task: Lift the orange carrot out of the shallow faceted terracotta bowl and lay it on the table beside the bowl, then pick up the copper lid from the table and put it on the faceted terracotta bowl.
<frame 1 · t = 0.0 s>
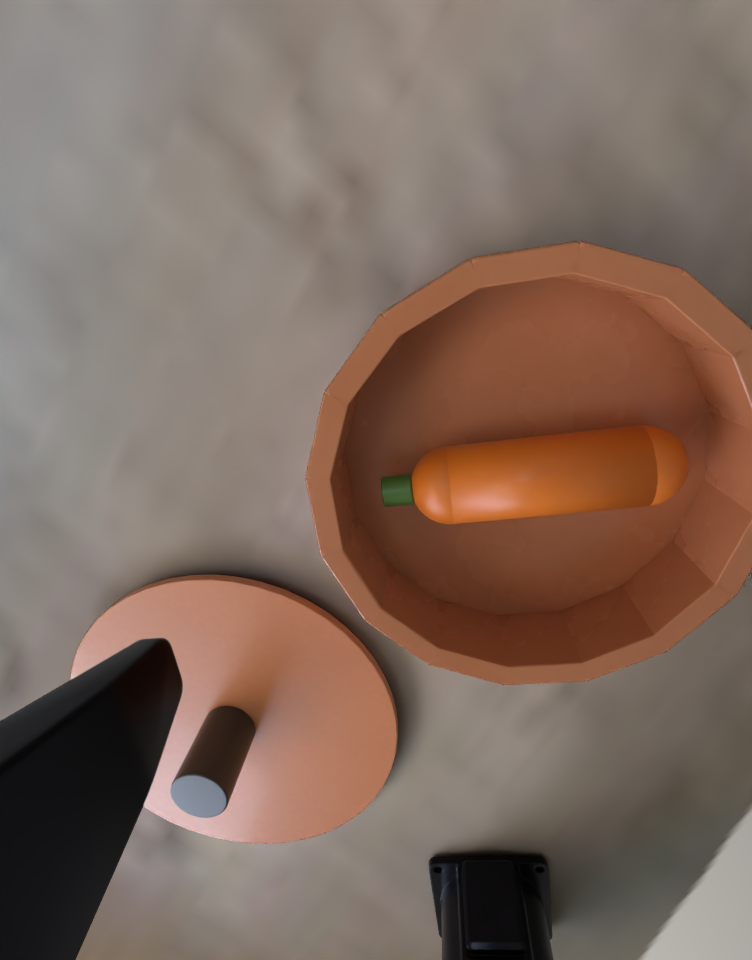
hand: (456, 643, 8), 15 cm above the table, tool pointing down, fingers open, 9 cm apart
lid: (234, 718, 27), point 1 cm above the table
faceted terracotta bowl: (519, 461, 22), on the table
carrot: (520, 464, 22), resting on faceted terracotta bowl
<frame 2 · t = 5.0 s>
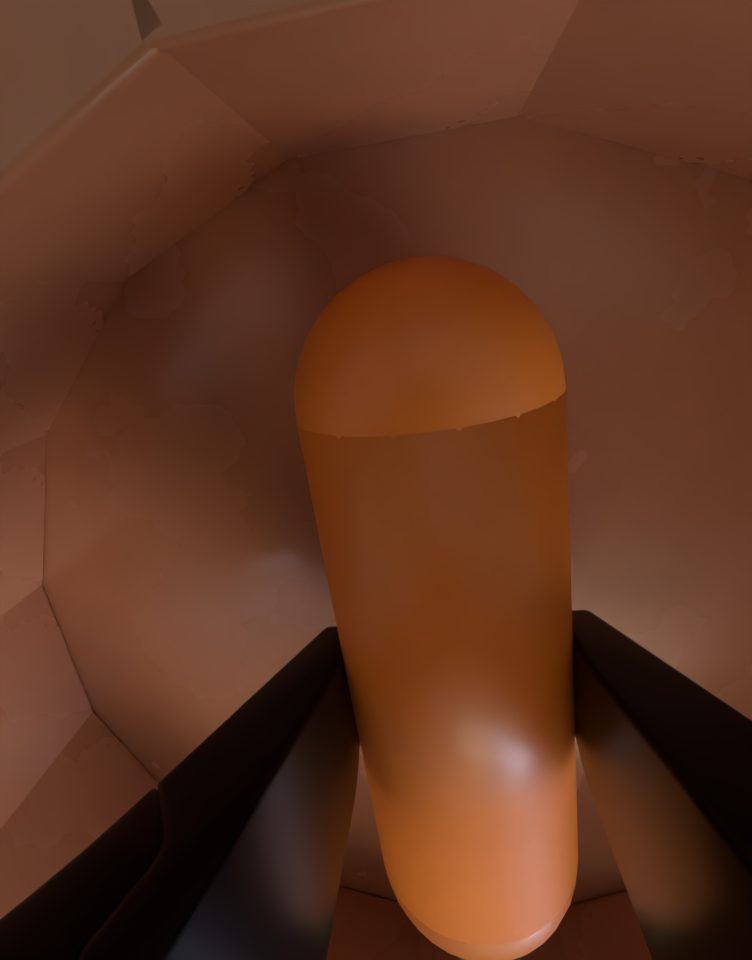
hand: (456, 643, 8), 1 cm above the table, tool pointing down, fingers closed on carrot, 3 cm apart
faceted terracotta bowl: (453, 609, 9), on the table
carrot: (454, 623, 9), resting on faceted terracotta bowl, touching gripper
when the fingers open (1 cm above the table, at t = 11.8 s): carrot stays where it is, on the table.
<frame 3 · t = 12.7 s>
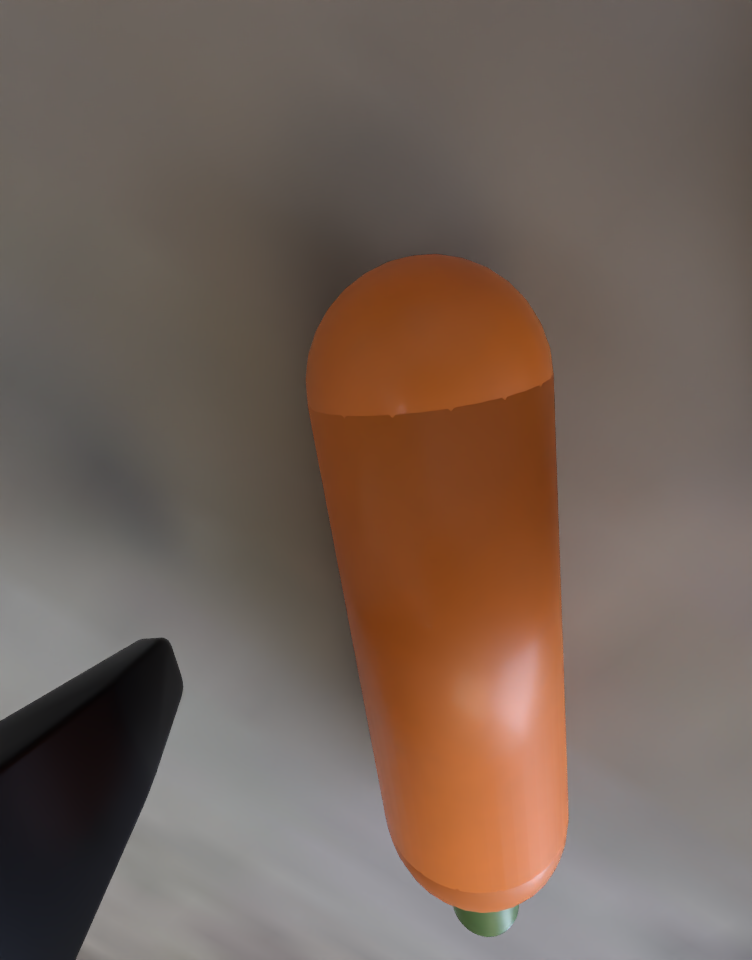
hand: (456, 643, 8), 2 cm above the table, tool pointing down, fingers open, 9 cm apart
carrot: (456, 600, 9), on the table
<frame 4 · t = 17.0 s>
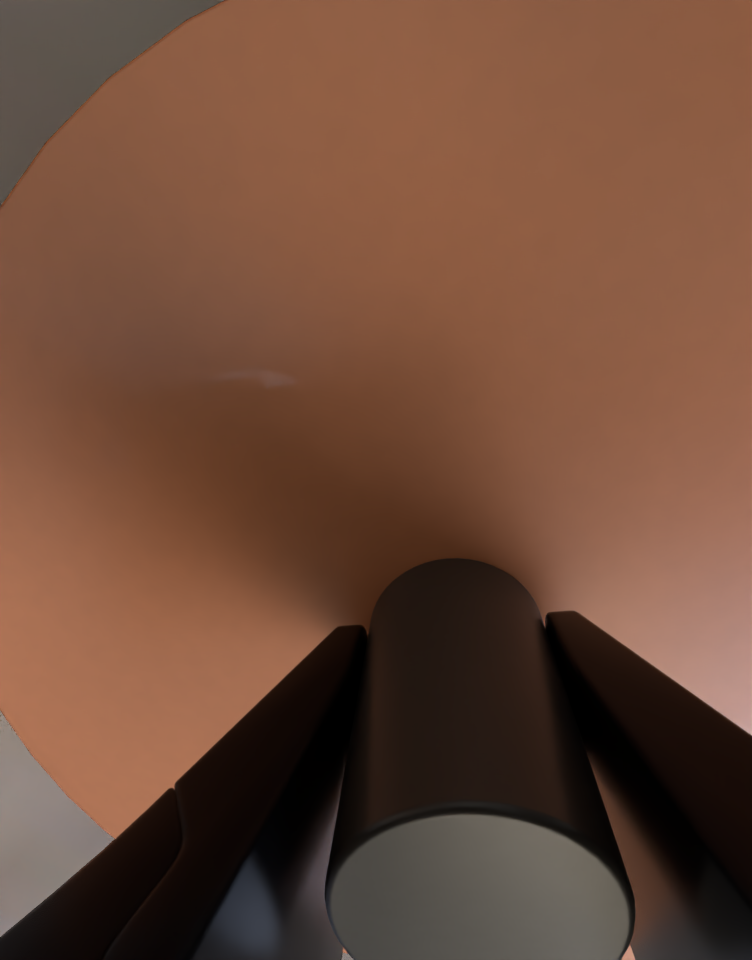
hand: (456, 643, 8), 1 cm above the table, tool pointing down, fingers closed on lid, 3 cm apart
lid: (453, 612, 9), point 1 cm above the table, touching gripper
when the fingers open (5 cm above the table, at t = 22.7 s): lid stays where it is, resting on faceted terracotta bowl.
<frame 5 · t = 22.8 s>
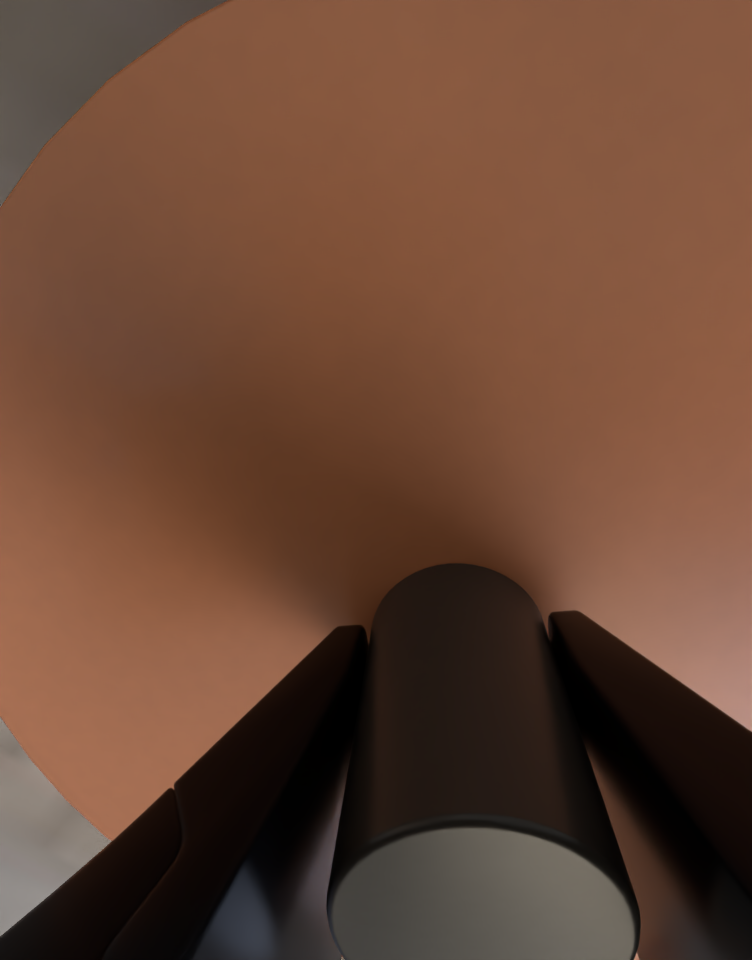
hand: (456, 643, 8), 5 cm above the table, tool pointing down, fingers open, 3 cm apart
lid: (455, 617, 9), point 4 cm above the table, touching faceted terracotta bowl
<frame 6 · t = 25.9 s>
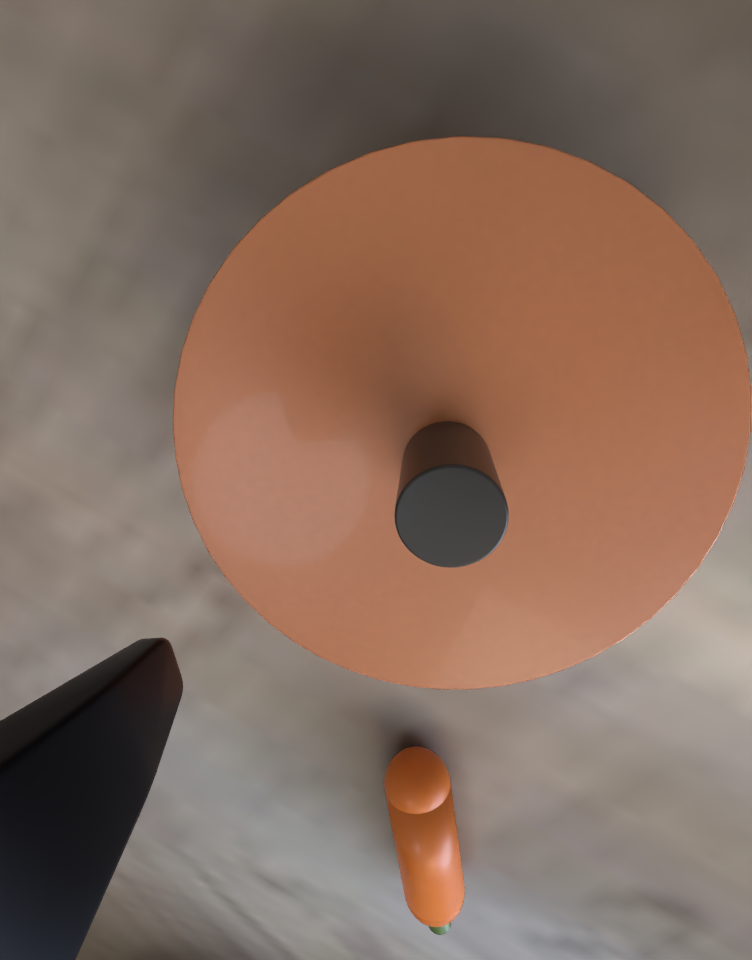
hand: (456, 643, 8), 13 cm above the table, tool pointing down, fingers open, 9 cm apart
lid: (445, 458, 16), point 4 cm above the table, touching faceted terracotta bowl
carrot: (442, 821, 27), on the table, tilted 30°
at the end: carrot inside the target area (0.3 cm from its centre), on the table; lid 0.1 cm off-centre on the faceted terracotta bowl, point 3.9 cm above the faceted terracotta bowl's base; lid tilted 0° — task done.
